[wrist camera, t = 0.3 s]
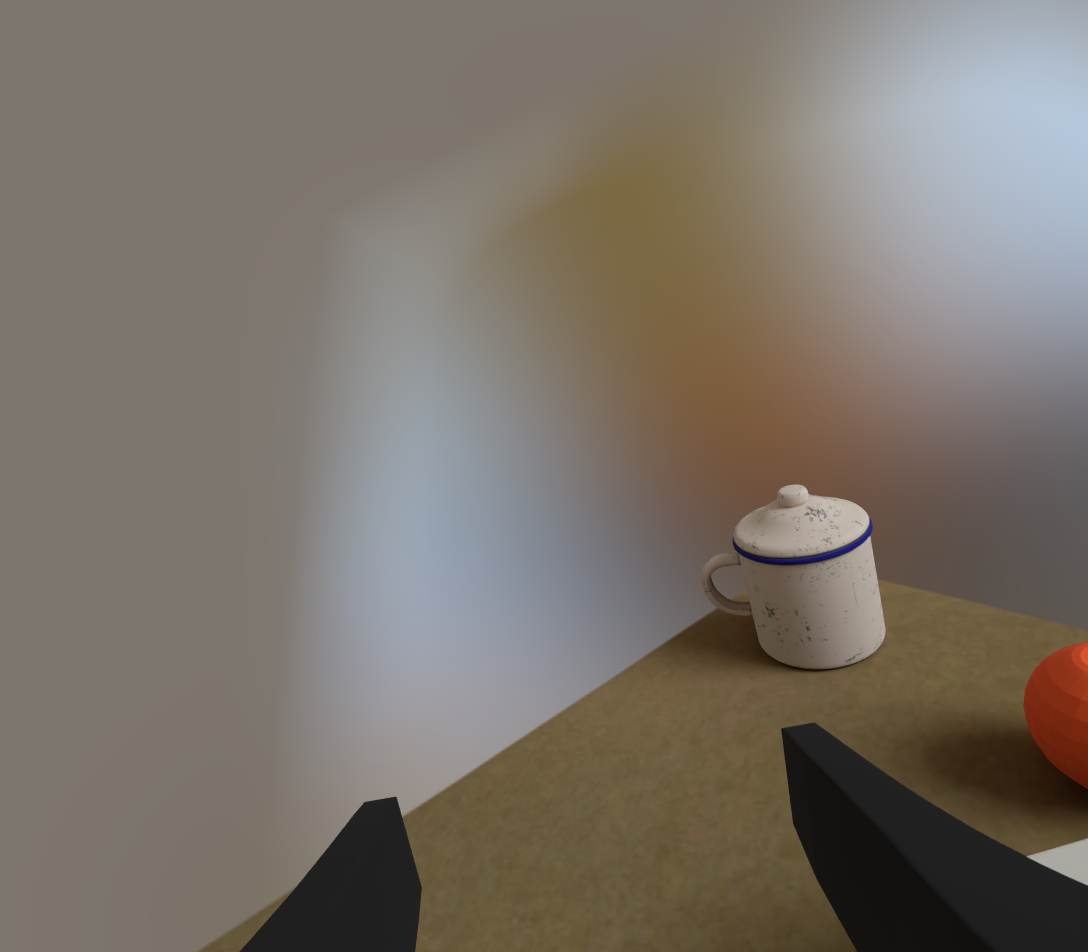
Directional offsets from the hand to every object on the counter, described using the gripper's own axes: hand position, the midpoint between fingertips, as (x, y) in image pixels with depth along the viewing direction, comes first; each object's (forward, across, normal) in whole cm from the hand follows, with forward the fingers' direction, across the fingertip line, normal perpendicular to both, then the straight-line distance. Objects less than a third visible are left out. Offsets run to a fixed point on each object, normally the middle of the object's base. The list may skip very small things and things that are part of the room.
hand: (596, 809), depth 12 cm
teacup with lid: (+34, -15, +17) cm, 41 cm away
